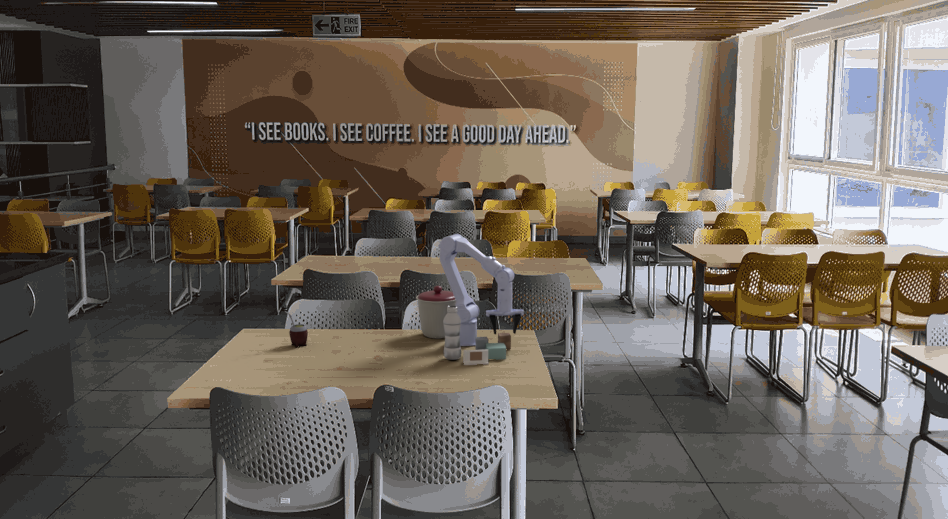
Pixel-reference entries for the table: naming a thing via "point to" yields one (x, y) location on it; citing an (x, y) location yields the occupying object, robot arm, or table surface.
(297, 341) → the mate gourd
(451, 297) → the canister
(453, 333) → the plastic bottle
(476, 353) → the card
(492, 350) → the base block
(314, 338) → the table surface
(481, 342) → the grey block
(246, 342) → the table surface
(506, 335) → the walnut block
